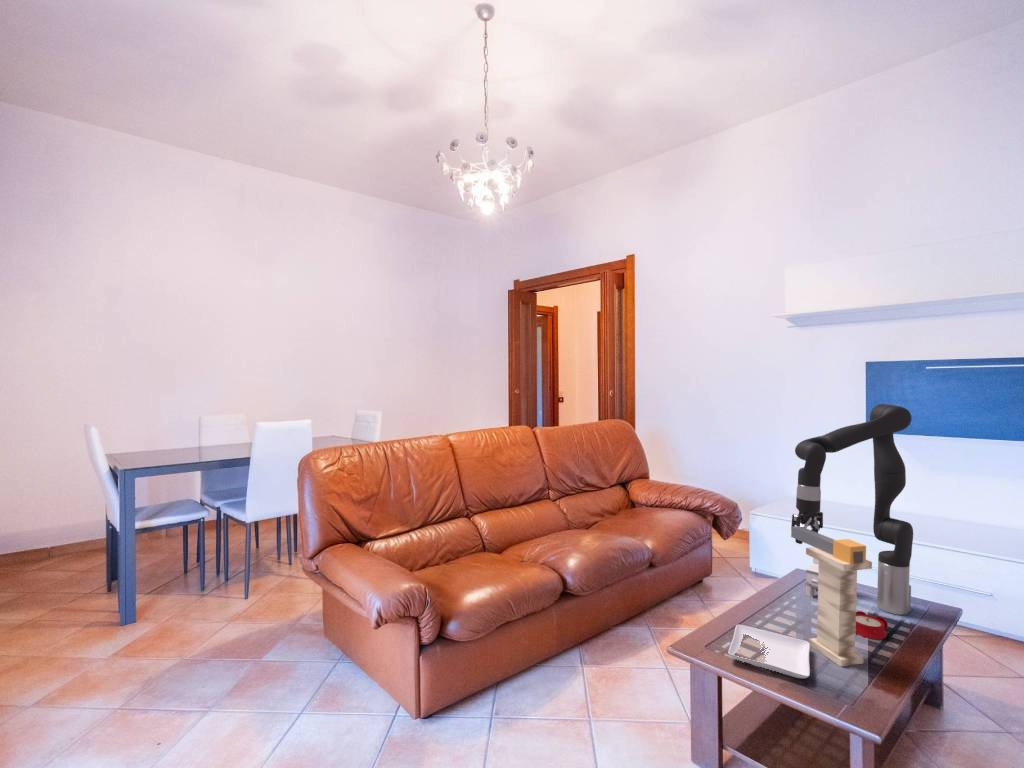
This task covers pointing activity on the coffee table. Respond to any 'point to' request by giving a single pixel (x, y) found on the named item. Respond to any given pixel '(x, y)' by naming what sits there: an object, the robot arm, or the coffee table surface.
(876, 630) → the alarm clock
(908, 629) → the coffee table surface
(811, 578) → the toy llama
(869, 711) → the coffee table surface
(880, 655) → the coffee table surface
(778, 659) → the salad plate
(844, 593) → the stand
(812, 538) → the orange-tipped gray rod
